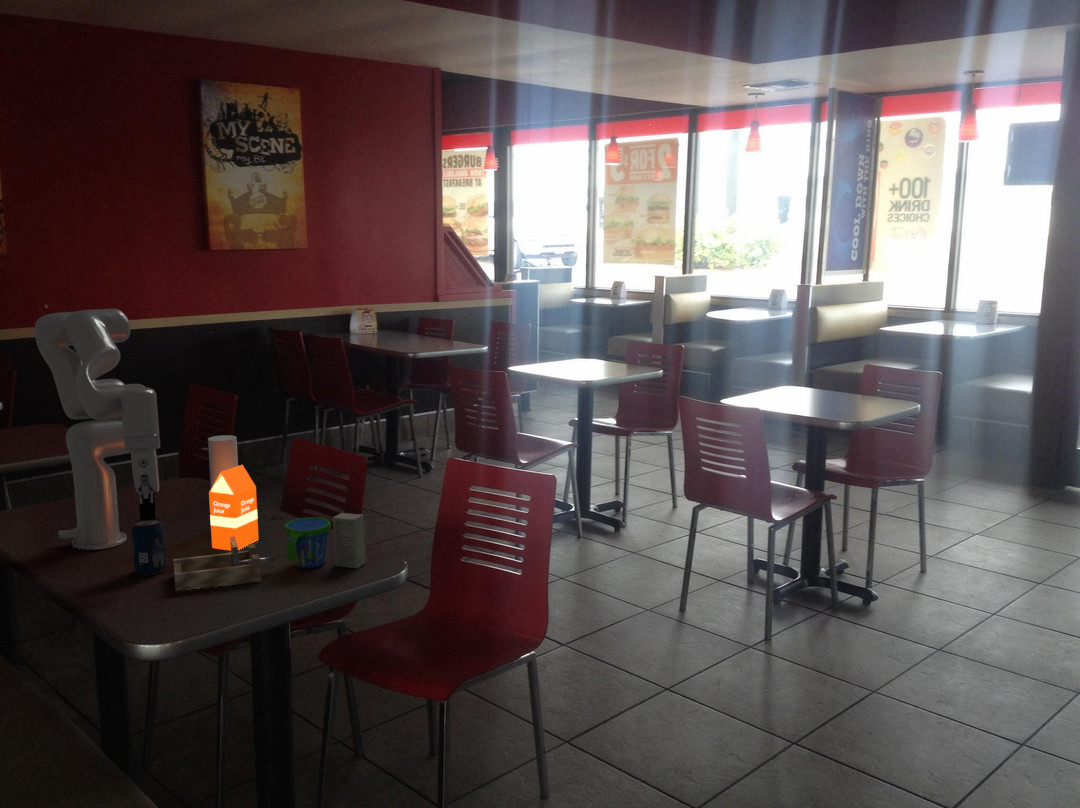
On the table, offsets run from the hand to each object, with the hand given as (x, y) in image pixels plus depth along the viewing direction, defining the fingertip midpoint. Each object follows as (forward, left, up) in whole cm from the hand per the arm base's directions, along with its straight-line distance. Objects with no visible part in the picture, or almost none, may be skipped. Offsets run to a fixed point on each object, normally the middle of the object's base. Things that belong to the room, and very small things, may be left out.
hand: (148, 514), depth 214 cm
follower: (+22, -10, -13) cm, 27 cm away
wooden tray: (+14, -10, -14) cm, 22 cm away
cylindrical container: (+19, +28, -14) cm, 36 cm away
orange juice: (+20, +14, -14) cm, 28 cm away
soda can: (0, +1, -14) cm, 14 cm away
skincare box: (+44, -12, -14) cm, 48 cm away
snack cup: (+35, -8, -14) cm, 38 cm away
